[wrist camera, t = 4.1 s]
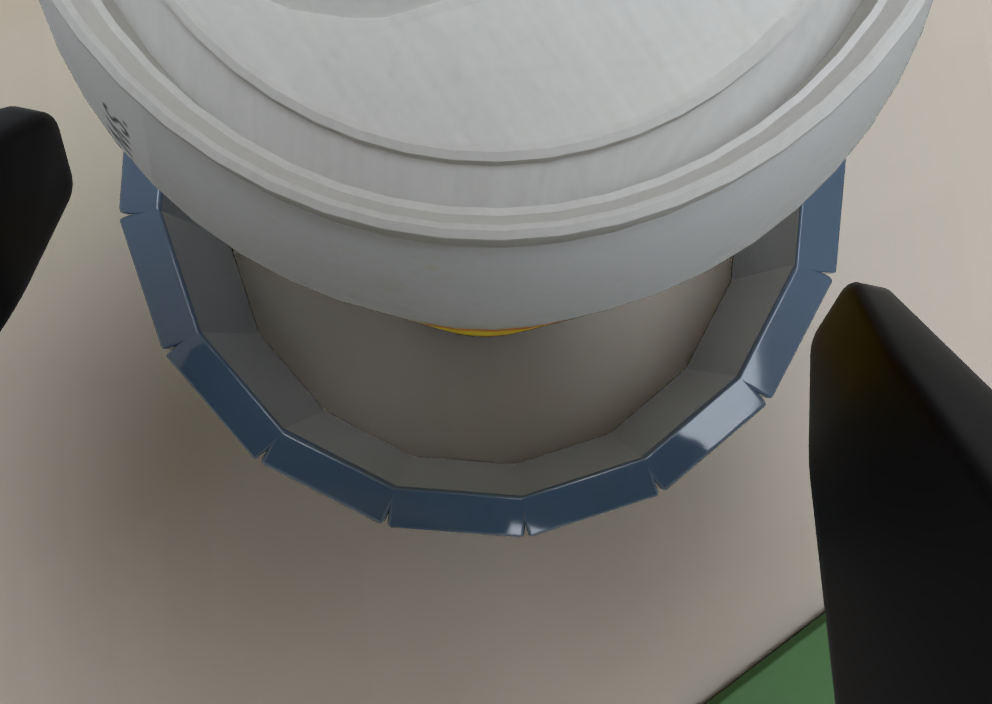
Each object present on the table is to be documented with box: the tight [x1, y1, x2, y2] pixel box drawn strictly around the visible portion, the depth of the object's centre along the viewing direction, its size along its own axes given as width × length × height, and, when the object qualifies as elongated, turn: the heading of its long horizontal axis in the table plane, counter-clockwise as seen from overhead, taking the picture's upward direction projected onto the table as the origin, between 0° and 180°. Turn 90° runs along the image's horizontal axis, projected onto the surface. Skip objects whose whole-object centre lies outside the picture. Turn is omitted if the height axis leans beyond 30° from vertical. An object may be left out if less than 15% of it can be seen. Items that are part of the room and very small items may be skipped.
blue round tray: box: [119, 152, 846, 537], centre depth 17 cm, size 14×14×4 cm
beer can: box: [39, 0, 933, 337], centre depth 11 cm, size 6×6×15 cm
